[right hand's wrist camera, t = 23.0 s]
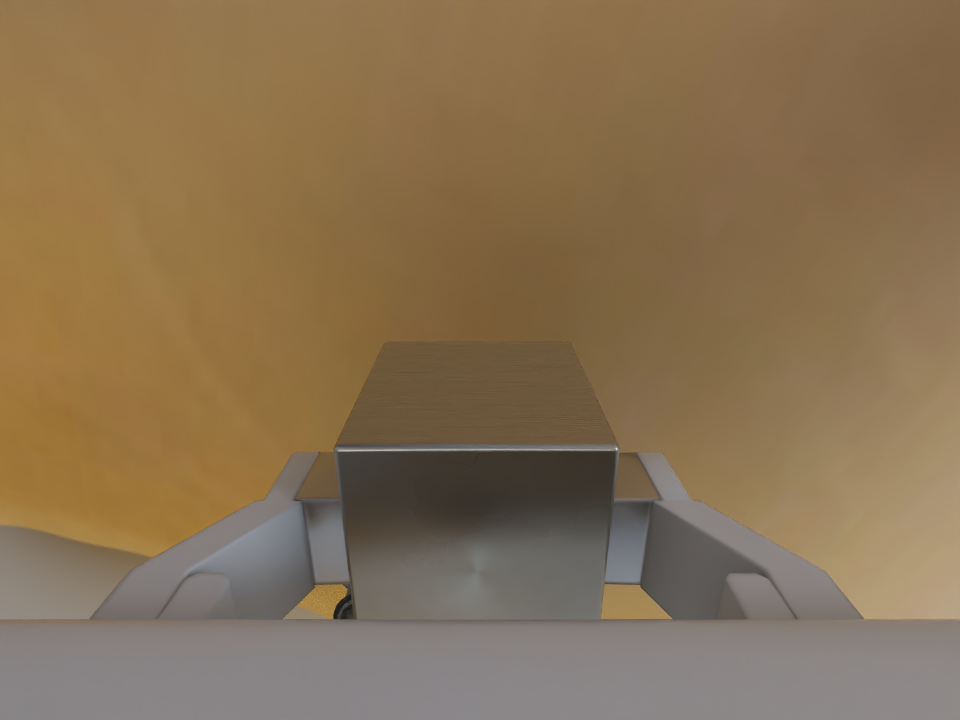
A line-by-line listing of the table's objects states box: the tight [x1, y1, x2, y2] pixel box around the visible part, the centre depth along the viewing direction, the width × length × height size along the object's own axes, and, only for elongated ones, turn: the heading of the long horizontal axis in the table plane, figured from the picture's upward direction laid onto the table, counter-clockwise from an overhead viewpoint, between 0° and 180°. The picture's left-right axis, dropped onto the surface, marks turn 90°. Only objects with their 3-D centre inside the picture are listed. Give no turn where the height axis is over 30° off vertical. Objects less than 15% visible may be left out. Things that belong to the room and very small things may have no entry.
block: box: [334, 342, 620, 619], centre depth 10 cm, size 4×5×4 cm
